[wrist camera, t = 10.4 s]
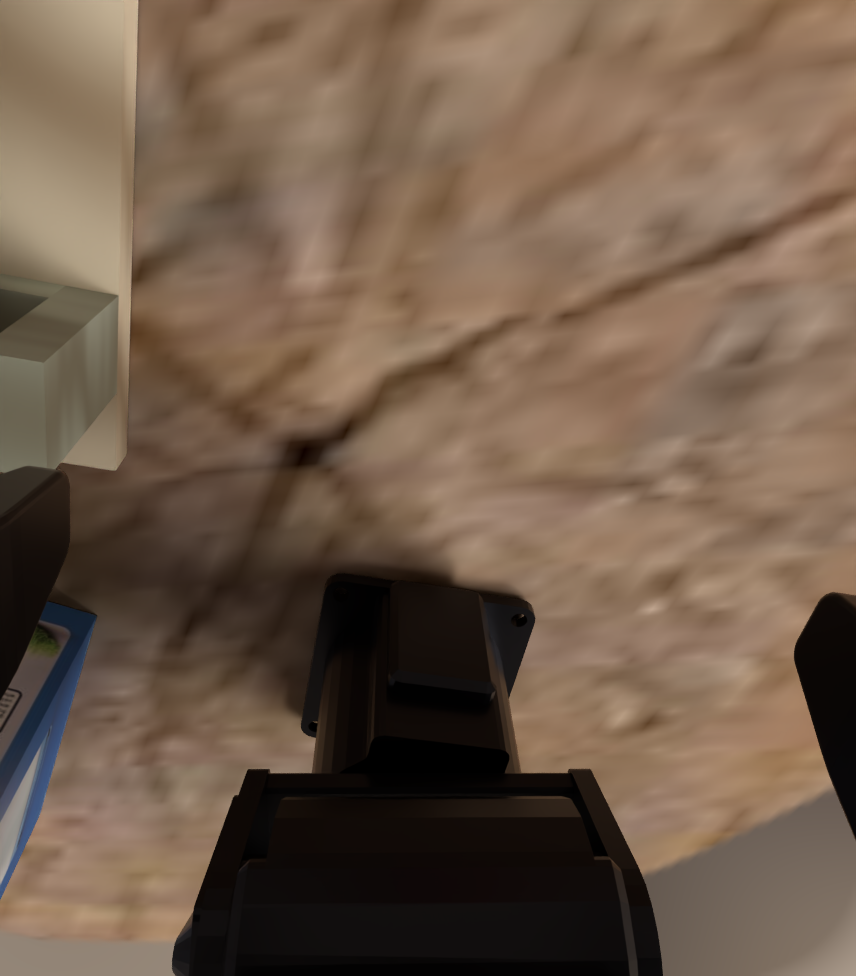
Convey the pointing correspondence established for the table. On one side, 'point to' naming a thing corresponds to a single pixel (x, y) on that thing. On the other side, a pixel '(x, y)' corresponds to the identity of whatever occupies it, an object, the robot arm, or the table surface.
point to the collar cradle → (66, 230)
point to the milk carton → (37, 723)
